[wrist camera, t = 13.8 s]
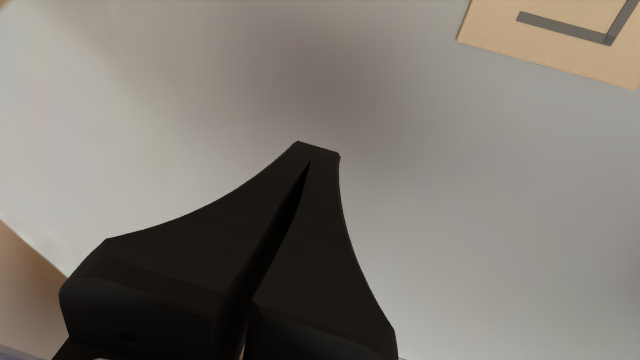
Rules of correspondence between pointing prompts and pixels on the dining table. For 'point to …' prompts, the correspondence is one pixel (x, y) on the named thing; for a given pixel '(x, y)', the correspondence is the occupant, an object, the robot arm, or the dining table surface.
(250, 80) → the dining table surface
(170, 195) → the dining table surface
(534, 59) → the sketch pad
